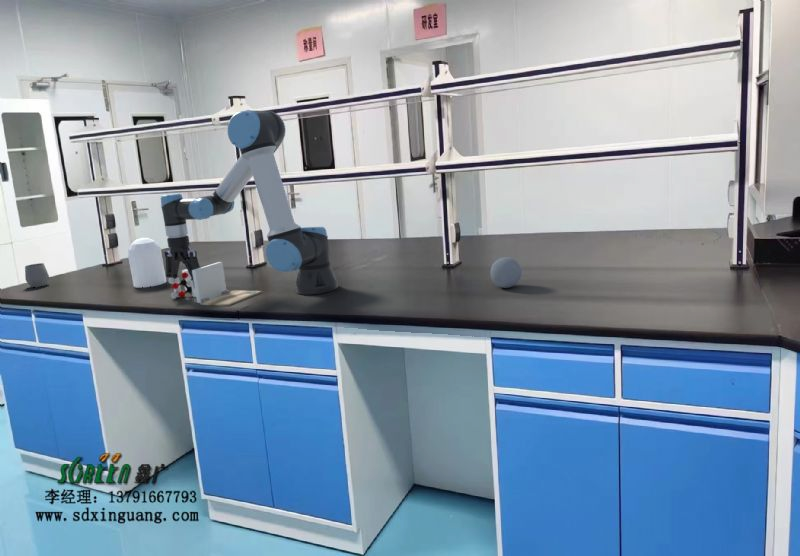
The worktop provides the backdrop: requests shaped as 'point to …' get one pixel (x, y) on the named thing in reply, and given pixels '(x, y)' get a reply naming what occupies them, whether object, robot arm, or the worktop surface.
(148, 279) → the container
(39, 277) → the cup
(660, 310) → the worktop surface
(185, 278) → the white upright block
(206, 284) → the occluder screen
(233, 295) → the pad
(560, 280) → the worktop surface
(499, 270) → the decorative stone
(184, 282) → the molecular model
